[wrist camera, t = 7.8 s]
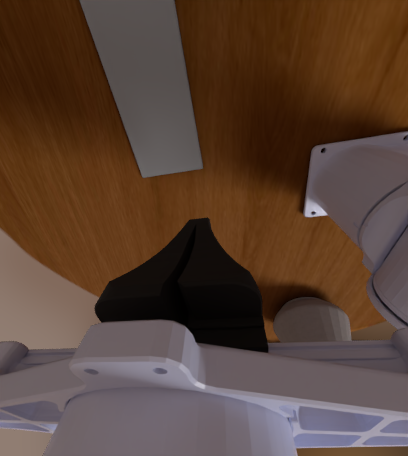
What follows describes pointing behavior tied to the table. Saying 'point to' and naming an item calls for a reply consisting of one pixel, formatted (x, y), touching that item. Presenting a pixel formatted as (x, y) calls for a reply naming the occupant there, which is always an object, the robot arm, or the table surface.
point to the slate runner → (147, 80)
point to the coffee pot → (311, 321)
